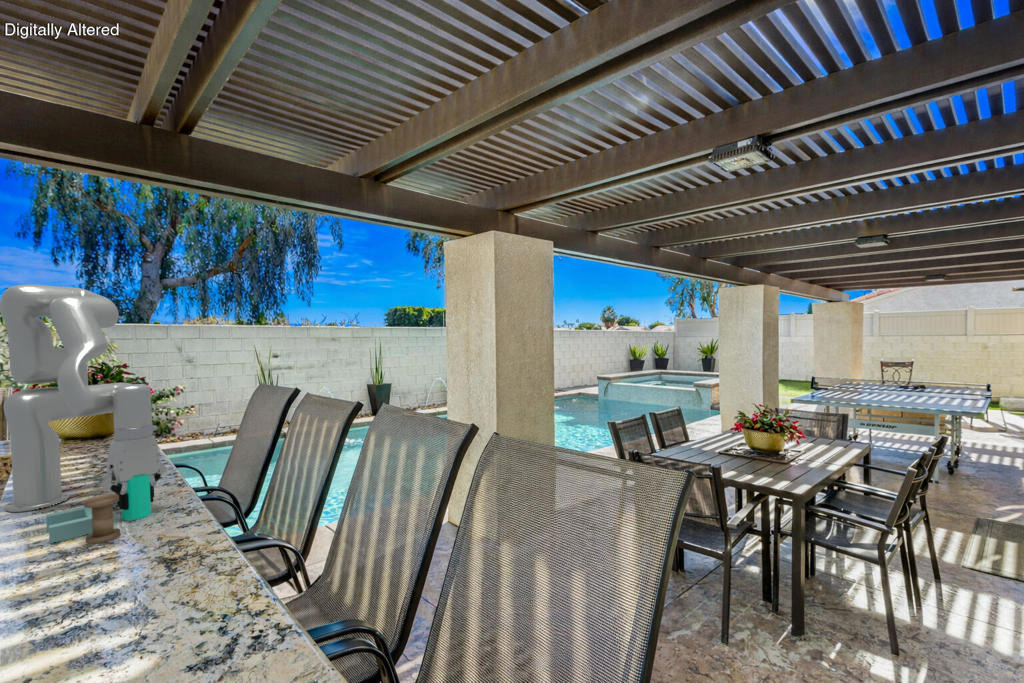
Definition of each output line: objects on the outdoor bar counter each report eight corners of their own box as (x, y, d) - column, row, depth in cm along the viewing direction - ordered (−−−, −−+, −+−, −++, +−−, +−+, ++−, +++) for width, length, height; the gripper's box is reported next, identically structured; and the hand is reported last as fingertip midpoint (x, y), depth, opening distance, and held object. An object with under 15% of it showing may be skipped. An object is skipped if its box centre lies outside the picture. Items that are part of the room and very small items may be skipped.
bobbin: (79, 541, 108) (78, 501, 108) (111, 531, 114) (109, 492, 113) (95, 545, 106) (93, 504, 106) (126, 535, 111) (124, 495, 111)
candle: (135, 521, 119) (133, 472, 119) (115, 519, 121) (113, 471, 120) (157, 512, 125) (155, 465, 125) (138, 510, 127) (136, 465, 126)
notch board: (46, 529, 116) (46, 514, 115) (96, 518, 122) (95, 504, 122) (50, 543, 107) (49, 528, 107) (103, 531, 114) (102, 516, 114)
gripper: (160, 426, 132) (163, 493, 132) (84, 439, 116) (87, 515, 117) (177, 428, 129) (180, 496, 129) (102, 442, 113) (105, 519, 114)
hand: (136, 504), depth 123 cm, fingers closed on candle, 4 cm apart
